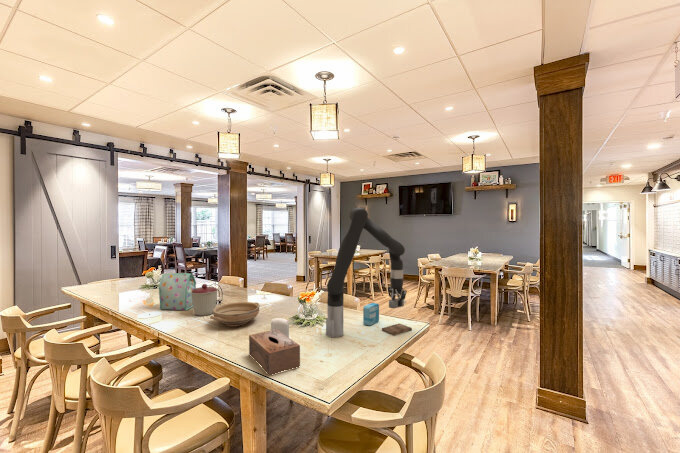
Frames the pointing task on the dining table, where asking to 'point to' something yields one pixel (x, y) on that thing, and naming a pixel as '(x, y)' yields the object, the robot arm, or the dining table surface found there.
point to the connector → (395, 303)
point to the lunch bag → (176, 291)
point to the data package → (371, 314)
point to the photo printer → (280, 325)
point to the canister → (204, 300)
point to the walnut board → (396, 329)
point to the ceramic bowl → (235, 313)
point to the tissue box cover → (274, 351)
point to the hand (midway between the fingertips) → (396, 305)
